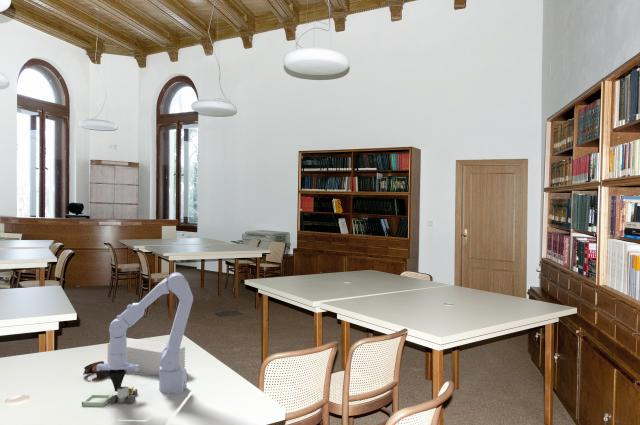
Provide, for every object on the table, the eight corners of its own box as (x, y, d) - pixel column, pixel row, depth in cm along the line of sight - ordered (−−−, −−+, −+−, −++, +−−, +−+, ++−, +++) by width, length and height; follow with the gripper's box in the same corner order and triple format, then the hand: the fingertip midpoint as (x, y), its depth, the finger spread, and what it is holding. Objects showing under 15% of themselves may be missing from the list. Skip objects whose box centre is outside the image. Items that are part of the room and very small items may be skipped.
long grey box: (184, 372, 201) (185, 346, 201) (167, 380, 192) (167, 353, 191) (126, 361, 214) (126, 337, 214) (107, 369, 204) (107, 343, 204)
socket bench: (150, 392, 178) (150, 384, 178) (131, 411, 161) (131, 402, 161) (102, 391, 179) (102, 383, 179) (78, 410, 162) (78, 401, 162)
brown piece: (84, 387, 184) (80, 366, 186) (88, 390, 192) (83, 370, 194) (117, 375, 188) (112, 355, 191) (120, 378, 197) (115, 359, 199)
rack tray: (113, 399, 169) (113, 394, 169) (104, 407, 162) (104, 402, 162) (92, 398, 169) (92, 394, 169) (81, 406, 162) (81, 402, 162)
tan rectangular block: (133, 393, 173) (133, 386, 173) (131, 395, 172) (131, 388, 172) (121, 393, 174) (121, 386, 174) (118, 395, 172) (118, 388, 172)
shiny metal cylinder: (130, 400, 168) (130, 386, 168) (125, 405, 164) (126, 390, 164) (120, 400, 168) (120, 386, 168) (115, 404, 164) (115, 390, 164)
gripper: (142, 349, 176) (142, 386, 176) (103, 349, 177) (102, 385, 177) (134, 355, 169) (134, 394, 169) (93, 354, 170) (93, 393, 170)
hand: (117, 390), depth 173 cm, fingers closed
